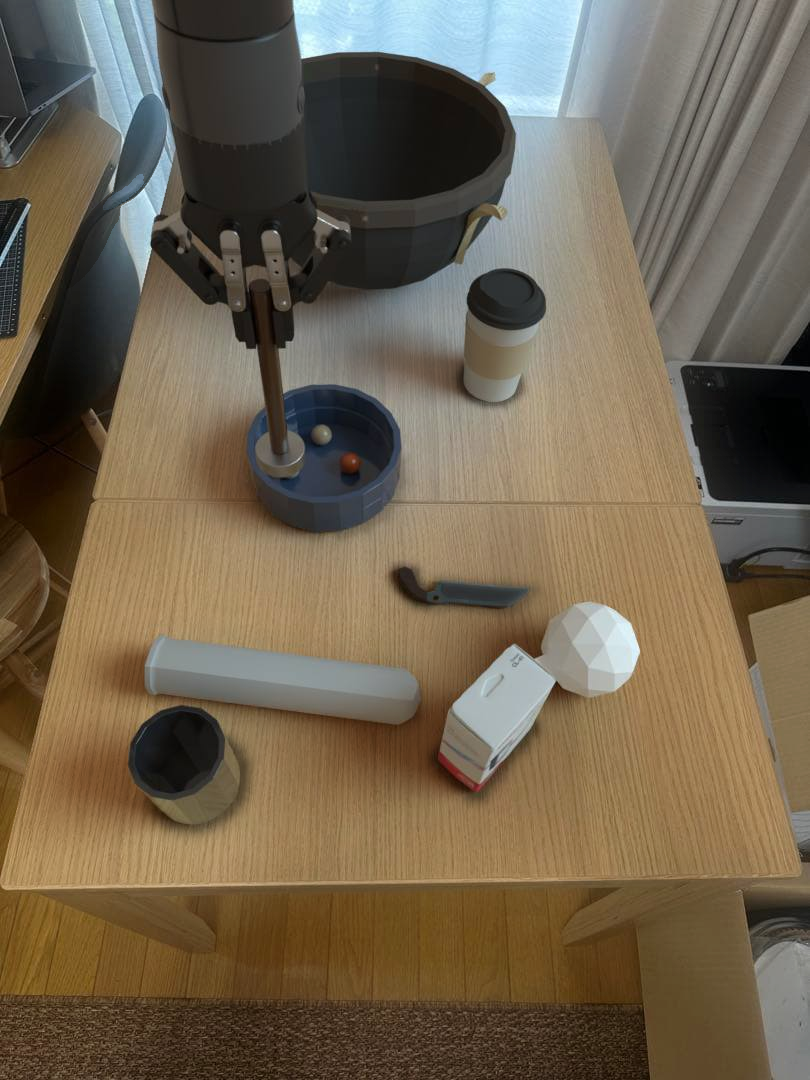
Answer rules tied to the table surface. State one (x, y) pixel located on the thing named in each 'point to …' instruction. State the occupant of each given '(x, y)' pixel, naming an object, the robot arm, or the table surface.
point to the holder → (184, 764)
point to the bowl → (402, 162)
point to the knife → (462, 592)
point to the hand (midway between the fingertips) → (266, 340)
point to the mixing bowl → (331, 459)
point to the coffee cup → (500, 331)
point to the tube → (280, 681)
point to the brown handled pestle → (272, 392)
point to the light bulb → (589, 649)
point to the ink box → (493, 716)
